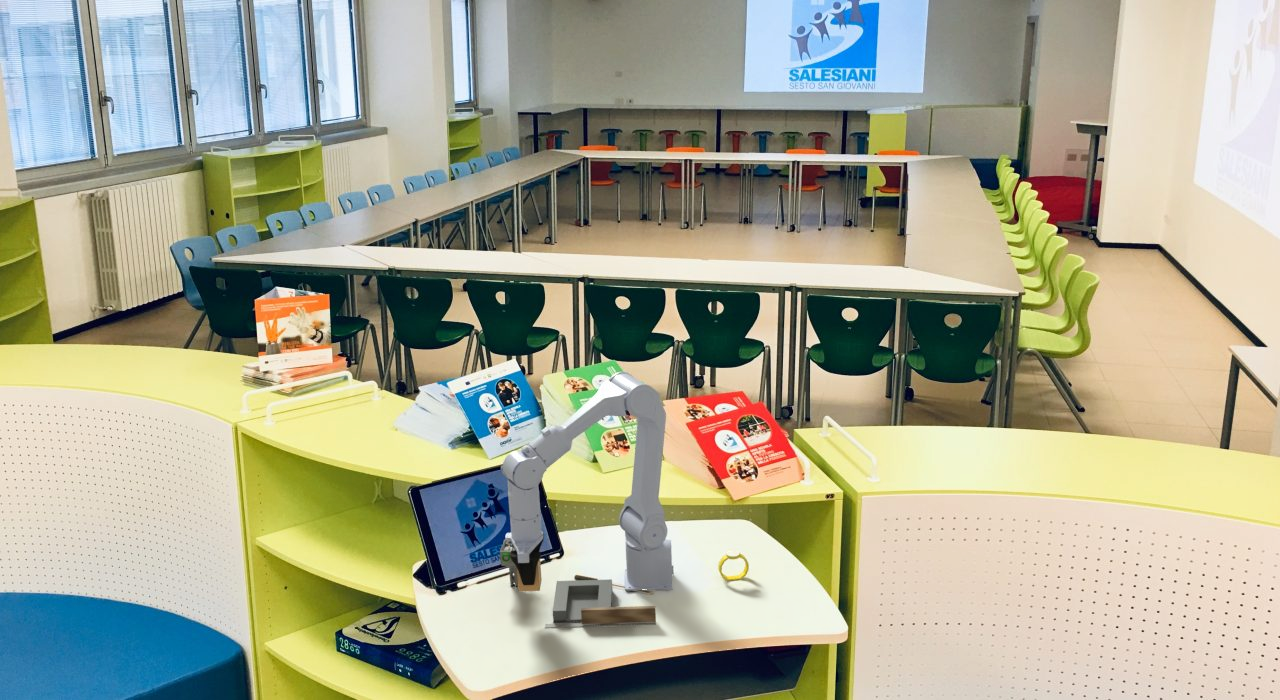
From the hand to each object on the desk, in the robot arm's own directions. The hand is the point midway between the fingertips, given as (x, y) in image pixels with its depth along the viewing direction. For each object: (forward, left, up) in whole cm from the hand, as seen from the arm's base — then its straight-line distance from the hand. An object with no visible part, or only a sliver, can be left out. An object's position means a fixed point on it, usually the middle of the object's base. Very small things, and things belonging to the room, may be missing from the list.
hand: (529, 577), depth 208 cm
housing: (-13, -2, -8) cm, 16 cm away
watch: (-40, -12, -9) cm, 42 cm away
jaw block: (0, 0, -2) cm, 2 cm away
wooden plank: (-17, +4, -8) cm, 19 cm away
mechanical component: (+5, -12, -9) cm, 15 cm away
